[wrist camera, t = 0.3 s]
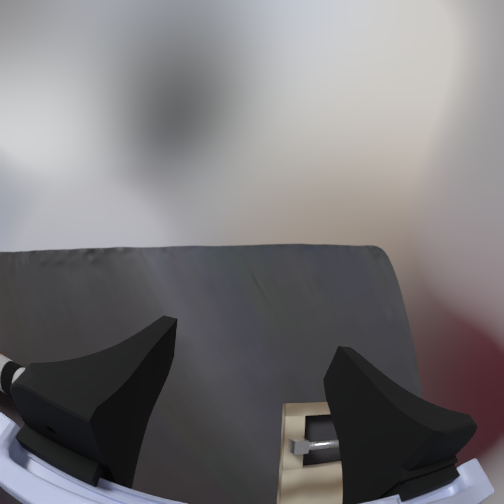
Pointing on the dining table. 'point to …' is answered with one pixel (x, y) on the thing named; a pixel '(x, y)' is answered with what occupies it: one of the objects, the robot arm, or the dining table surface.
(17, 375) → the cable
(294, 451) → the threaded rod assembly
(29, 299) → the dining table surface
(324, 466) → the beige board with cutout
